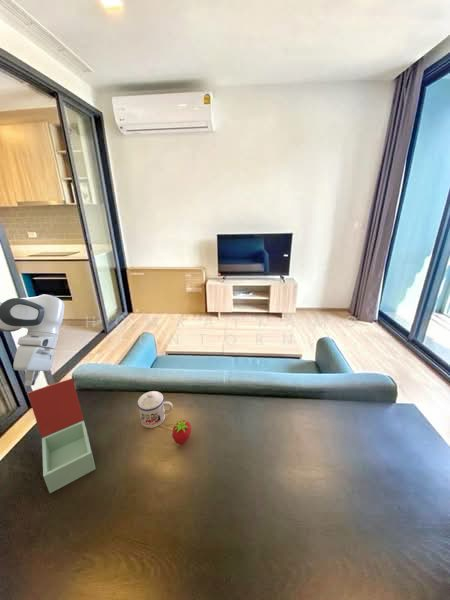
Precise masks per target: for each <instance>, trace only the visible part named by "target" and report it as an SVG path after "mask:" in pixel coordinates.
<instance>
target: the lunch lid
mask: <svg viewBox="0 0 450 600" xmlns="http://www.w3.org/2000/svg"><path fill="white" fill-rule="evenodd" d="M27 396H28V399H29V402H30V405H31V409H32V412H33V415H34V418H35V421H36V425H37V427H38V431H39V435H40V438H44V437H46V436H48V435H51V434H53V433H55V432H58V431H60V430H62V429H65V428H67V427H70V426H72V425H74V424H77V423H79V422H81V421H84V416H83V413H82V412H83V411H82V410H81V404H80V401H79V398H78V394H77V389H76V385H75V383H74V379H73V377H70V378H67V379H65V380H61V381H58V382H55V383H52V384H49V385H47V386H43V387H40V388H37V389H34V390H32V391H28V392H27Z"/></svg>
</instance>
